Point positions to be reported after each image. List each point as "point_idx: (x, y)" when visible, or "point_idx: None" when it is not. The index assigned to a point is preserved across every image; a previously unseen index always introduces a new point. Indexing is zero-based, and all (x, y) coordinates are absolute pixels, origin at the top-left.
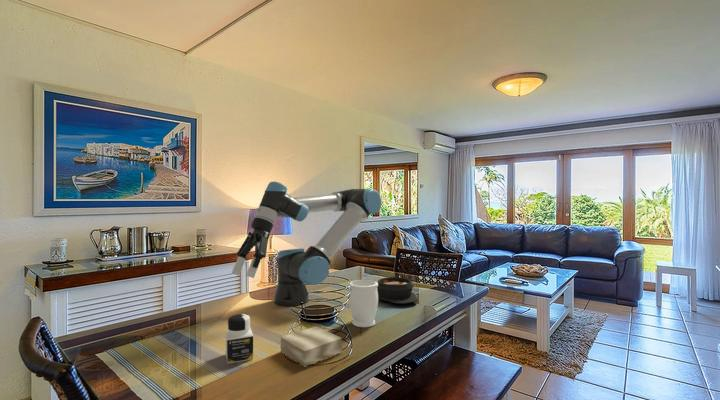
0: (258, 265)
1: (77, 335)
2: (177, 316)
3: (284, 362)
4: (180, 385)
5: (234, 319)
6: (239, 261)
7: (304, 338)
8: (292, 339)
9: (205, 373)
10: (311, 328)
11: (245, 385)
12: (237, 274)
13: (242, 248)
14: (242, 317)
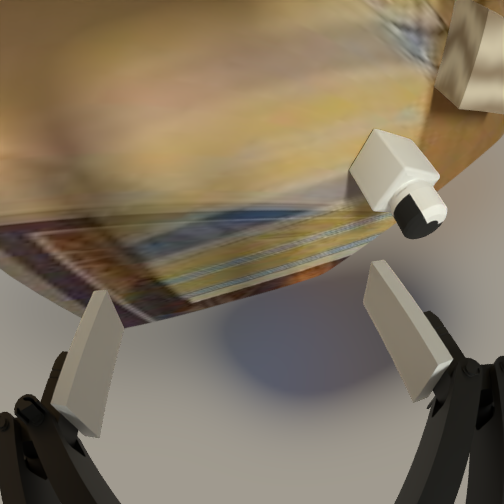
0: (429, 322)
1: None
2: (29, 253)
3: None
4: (378, 225)
5: (429, 233)
6: (98, 395)
7: (498, 82)
8: (482, 99)
9: None
10: (488, 29)
11: (447, 171)
12: (110, 303)
13: (53, 495)
14: (440, 222)
